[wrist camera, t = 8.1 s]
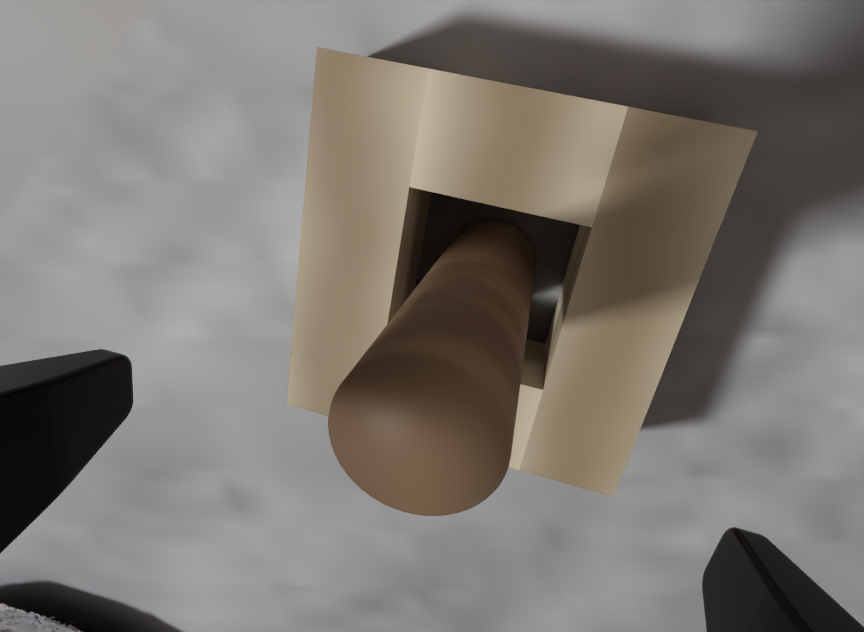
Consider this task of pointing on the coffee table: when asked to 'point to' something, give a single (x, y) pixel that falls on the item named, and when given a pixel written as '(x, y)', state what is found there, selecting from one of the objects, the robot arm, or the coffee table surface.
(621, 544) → the coffee table surface
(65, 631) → the food plate
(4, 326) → the coffee table surface
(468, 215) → the coffee table surface
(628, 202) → the hole block
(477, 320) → the walnut peg
